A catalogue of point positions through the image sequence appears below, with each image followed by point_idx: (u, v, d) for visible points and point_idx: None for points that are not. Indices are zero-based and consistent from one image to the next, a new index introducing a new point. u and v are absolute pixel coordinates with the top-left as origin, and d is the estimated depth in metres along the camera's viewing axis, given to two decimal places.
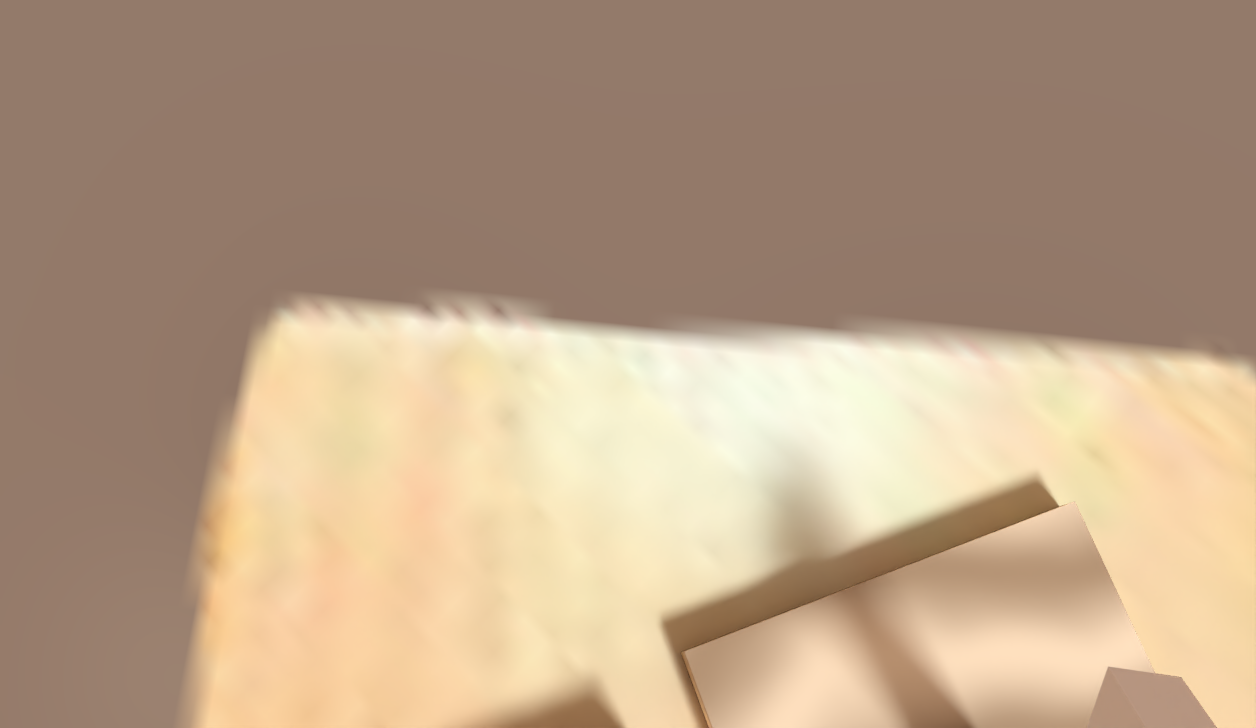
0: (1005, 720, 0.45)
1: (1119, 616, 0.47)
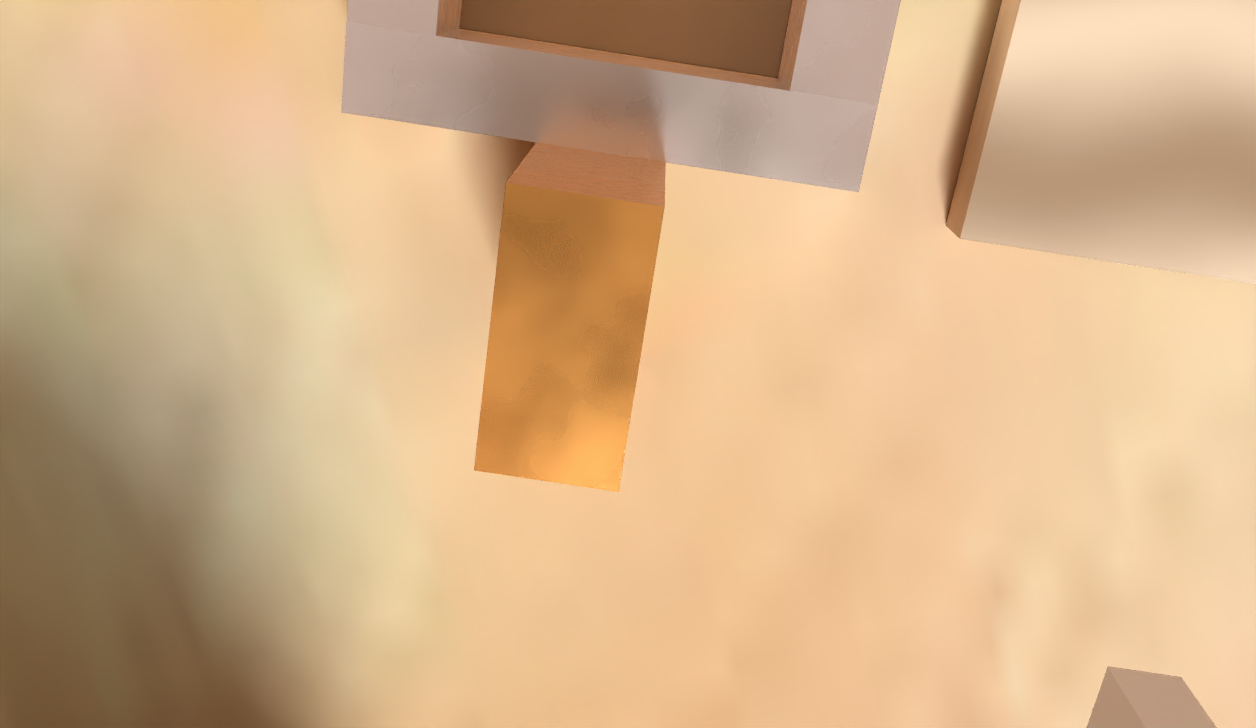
0: None
1: None
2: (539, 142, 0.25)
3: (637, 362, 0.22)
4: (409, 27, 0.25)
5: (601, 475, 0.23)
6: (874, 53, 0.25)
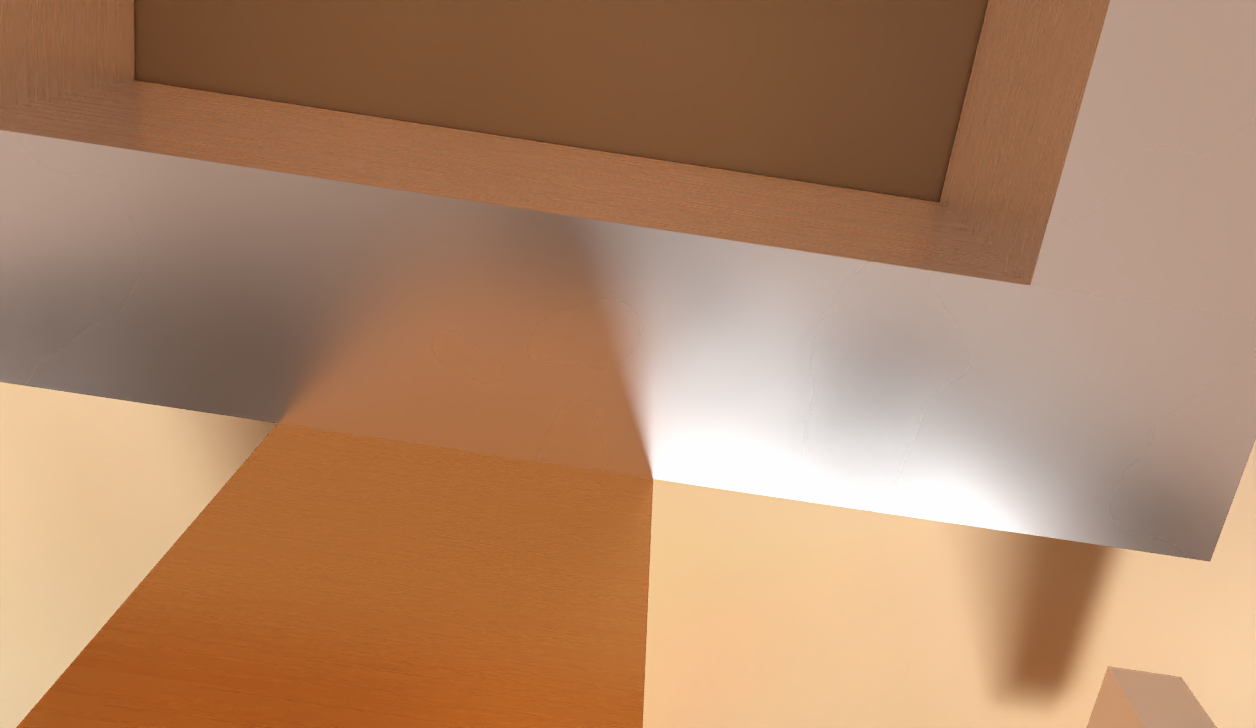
0: None
1: None
2: (286, 424, 0.09)
3: None
4: None
5: None
6: None
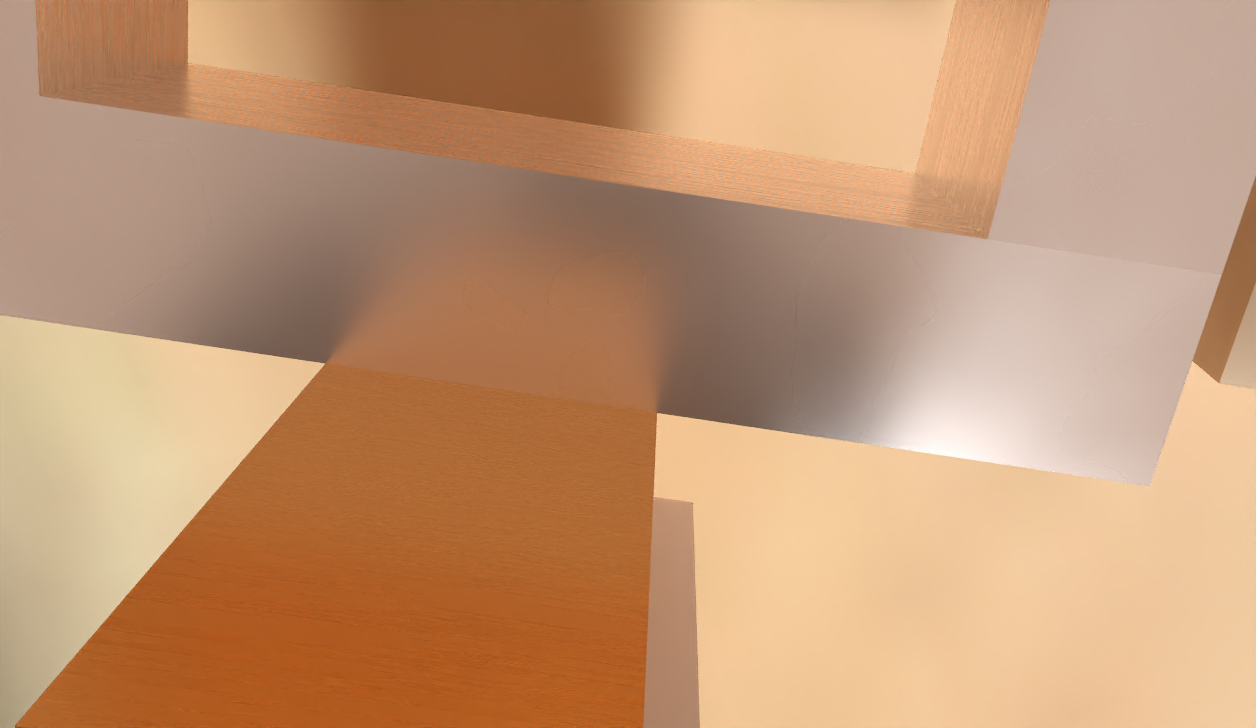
0: None
1: None
2: (333, 364, 0.10)
3: None
4: None
5: None
6: (1226, 141, 0.09)
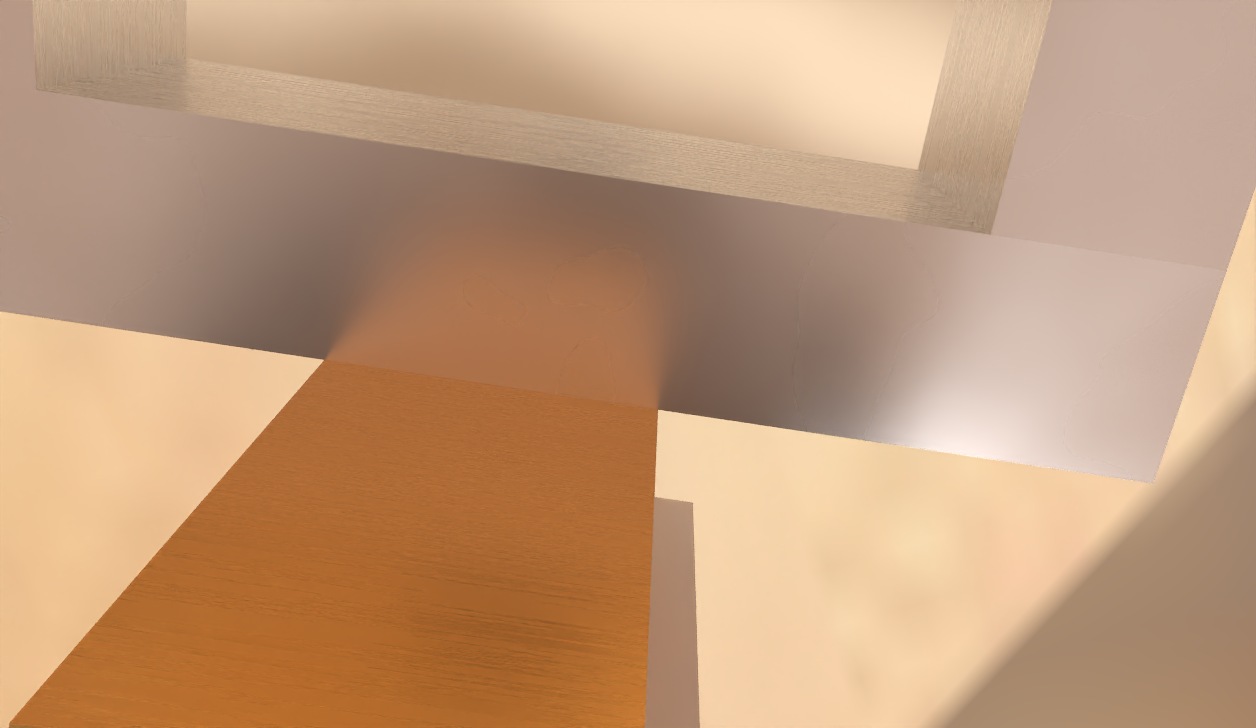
0: None
1: None
2: (332, 360, 0.10)
3: None
4: None
5: None
6: (1231, 136, 0.09)
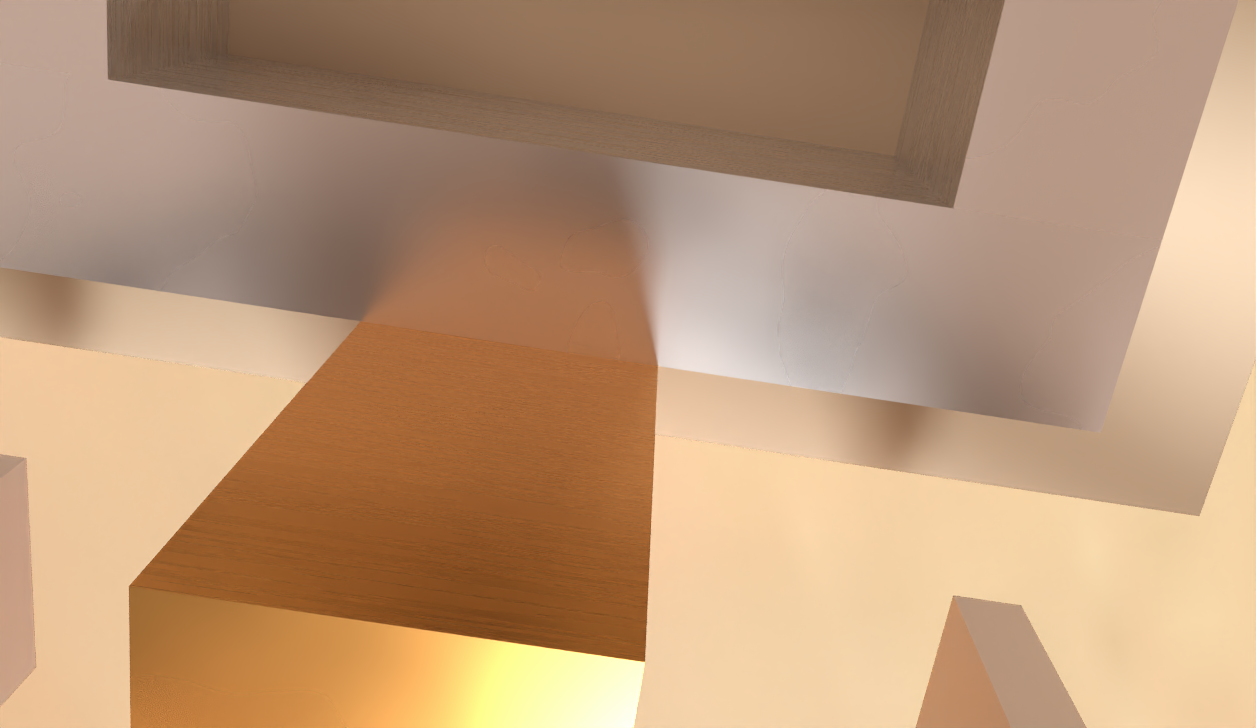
0: None
1: None
2: (367, 322, 0.11)
3: None
4: (44, 59, 0.10)
5: None
6: (1163, 121, 0.10)
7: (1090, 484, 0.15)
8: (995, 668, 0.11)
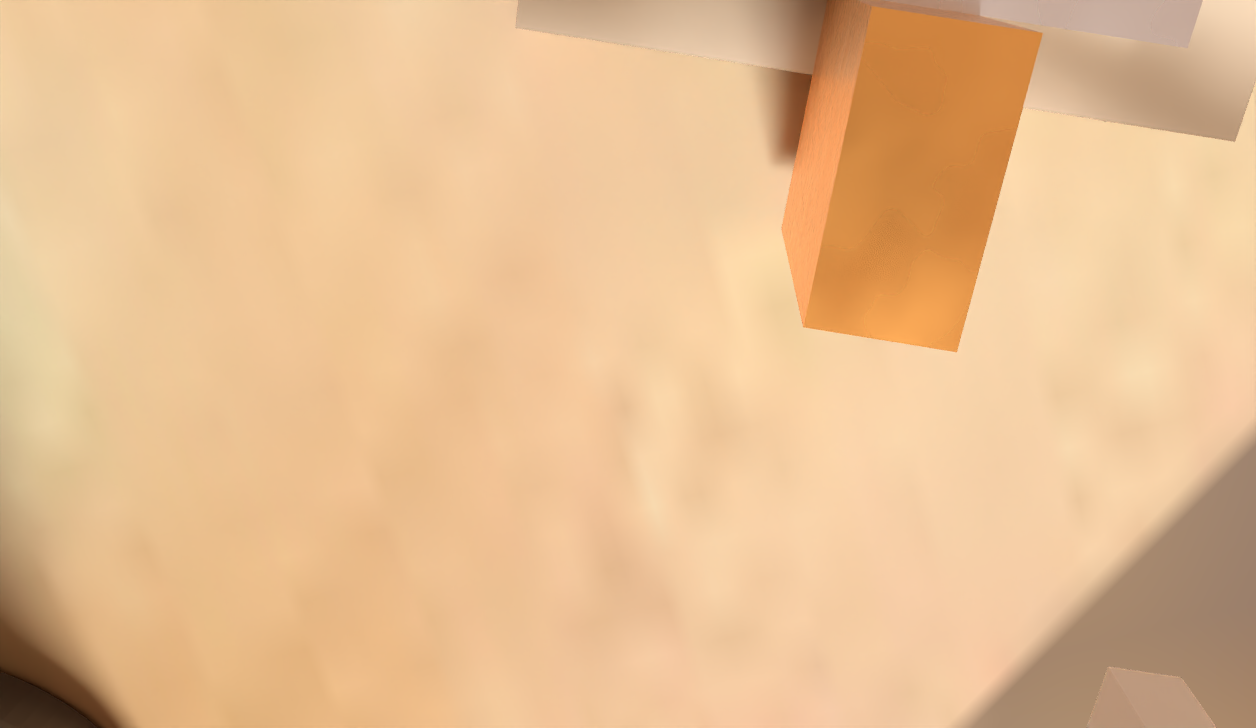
0: None
1: None
2: None
3: (994, 207, 0.20)
4: None
5: (940, 333, 0.21)
6: None
7: (1176, 122, 0.27)
8: None
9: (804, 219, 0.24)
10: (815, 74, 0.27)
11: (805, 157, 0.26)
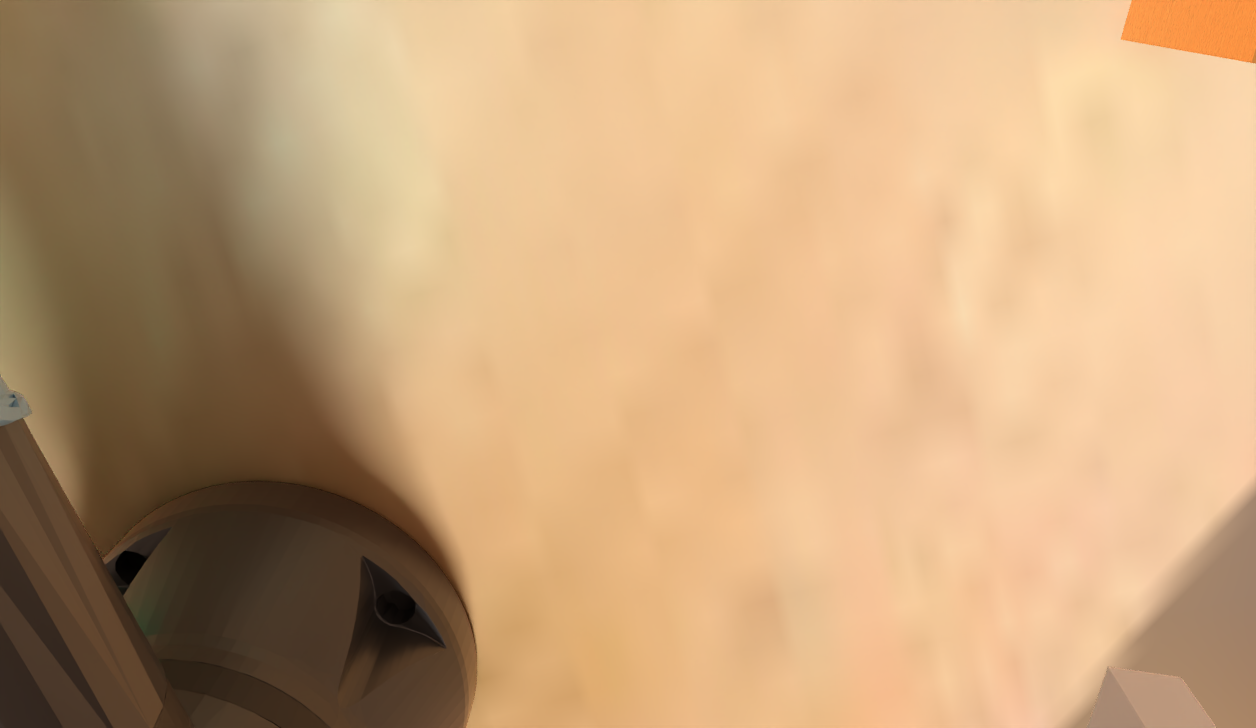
0: None
1: None
2: None
3: None
4: None
5: None
6: None
7: None
8: None
9: None
10: None
11: None
